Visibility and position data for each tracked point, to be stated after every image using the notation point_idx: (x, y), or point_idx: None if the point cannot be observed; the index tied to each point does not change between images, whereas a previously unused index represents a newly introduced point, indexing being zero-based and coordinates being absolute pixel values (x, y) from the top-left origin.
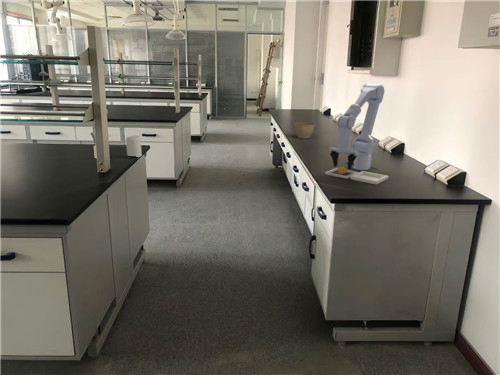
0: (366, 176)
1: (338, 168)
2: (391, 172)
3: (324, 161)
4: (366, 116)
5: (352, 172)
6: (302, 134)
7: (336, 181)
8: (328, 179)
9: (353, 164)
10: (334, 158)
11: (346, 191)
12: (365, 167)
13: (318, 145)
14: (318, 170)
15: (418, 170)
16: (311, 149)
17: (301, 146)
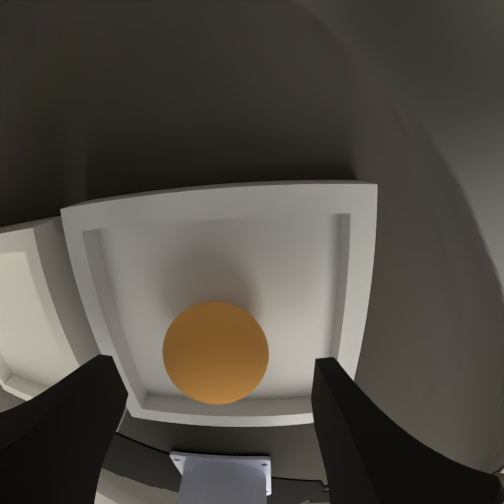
0: (64, 373)
1: (247, 347)
2: (121, 477)
3: (446, 448)
4: None
5: (171, 404)
6: None
7: (136, 92)
8: (243, 84)
9: (312, 497)
10: (361, 462)
11: (15, 11)
12: (180, 484)
13: None
14: (464, 315)
15: (110, 496)
16: (481, 465)
17: (500, 455)
